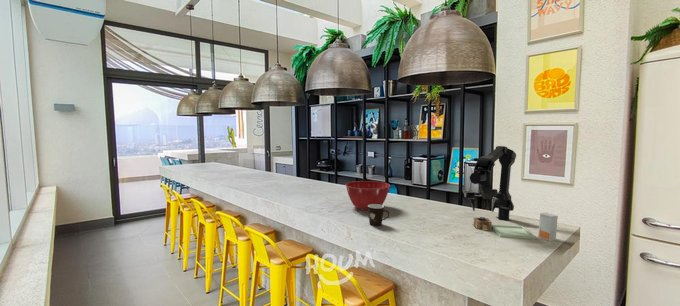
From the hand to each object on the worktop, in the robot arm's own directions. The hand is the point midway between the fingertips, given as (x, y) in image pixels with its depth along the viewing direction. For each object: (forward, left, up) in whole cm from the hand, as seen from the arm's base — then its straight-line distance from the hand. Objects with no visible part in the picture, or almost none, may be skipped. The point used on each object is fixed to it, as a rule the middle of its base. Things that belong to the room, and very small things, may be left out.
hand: (483, 211), depth 168 cm
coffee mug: (+6, -55, -9) cm, 56 cm away
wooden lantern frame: (0, 0, -8) cm, 8 cm away
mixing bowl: (-29, -63, -9) cm, 70 cm away
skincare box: (+11, +26, -9) cm, 30 cm away
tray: (+6, +12, -9) cm, 16 cm away
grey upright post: (0, 0, -9) cm, 9 cm away
